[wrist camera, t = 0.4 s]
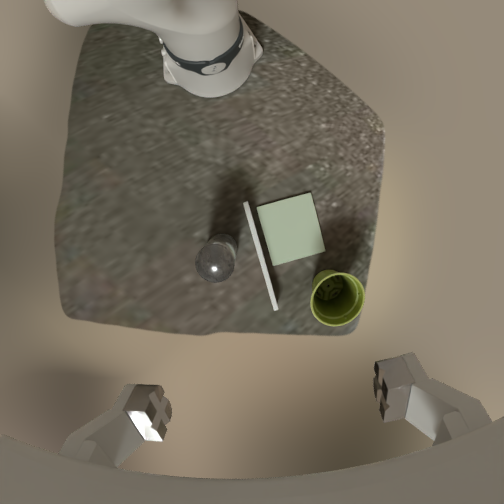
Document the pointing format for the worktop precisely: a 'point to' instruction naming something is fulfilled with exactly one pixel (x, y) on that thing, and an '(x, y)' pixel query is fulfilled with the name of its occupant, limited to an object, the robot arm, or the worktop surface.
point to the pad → (291, 229)
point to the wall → (260, 255)
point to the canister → (217, 258)
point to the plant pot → (336, 297)
